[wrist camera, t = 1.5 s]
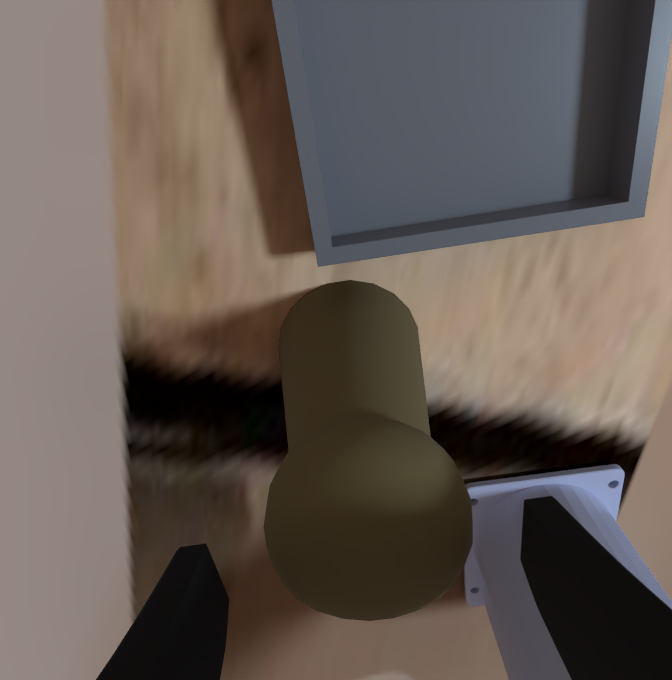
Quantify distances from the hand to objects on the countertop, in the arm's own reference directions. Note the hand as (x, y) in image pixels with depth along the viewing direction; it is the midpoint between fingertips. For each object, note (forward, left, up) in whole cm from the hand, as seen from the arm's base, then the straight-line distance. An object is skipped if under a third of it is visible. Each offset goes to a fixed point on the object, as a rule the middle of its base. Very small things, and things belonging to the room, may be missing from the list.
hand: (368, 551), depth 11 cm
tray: (+10, -5, -10) cm, 15 cm away
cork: (0, 0, -11) cm, 11 cm away
